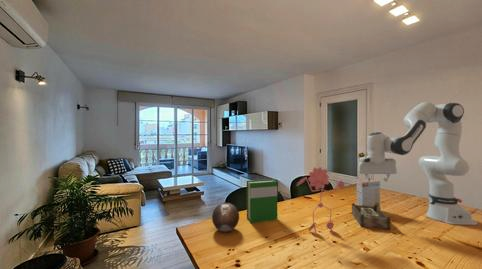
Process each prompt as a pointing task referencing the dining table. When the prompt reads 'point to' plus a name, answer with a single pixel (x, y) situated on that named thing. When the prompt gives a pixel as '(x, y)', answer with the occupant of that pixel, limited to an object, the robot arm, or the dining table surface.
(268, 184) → the hardback book
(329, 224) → the figurine
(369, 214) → the birch crate
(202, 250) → the dining table surface
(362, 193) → the cracker box
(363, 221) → the walnut crate
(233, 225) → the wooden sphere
